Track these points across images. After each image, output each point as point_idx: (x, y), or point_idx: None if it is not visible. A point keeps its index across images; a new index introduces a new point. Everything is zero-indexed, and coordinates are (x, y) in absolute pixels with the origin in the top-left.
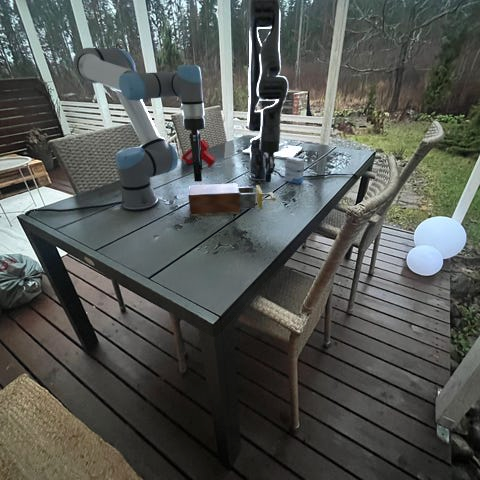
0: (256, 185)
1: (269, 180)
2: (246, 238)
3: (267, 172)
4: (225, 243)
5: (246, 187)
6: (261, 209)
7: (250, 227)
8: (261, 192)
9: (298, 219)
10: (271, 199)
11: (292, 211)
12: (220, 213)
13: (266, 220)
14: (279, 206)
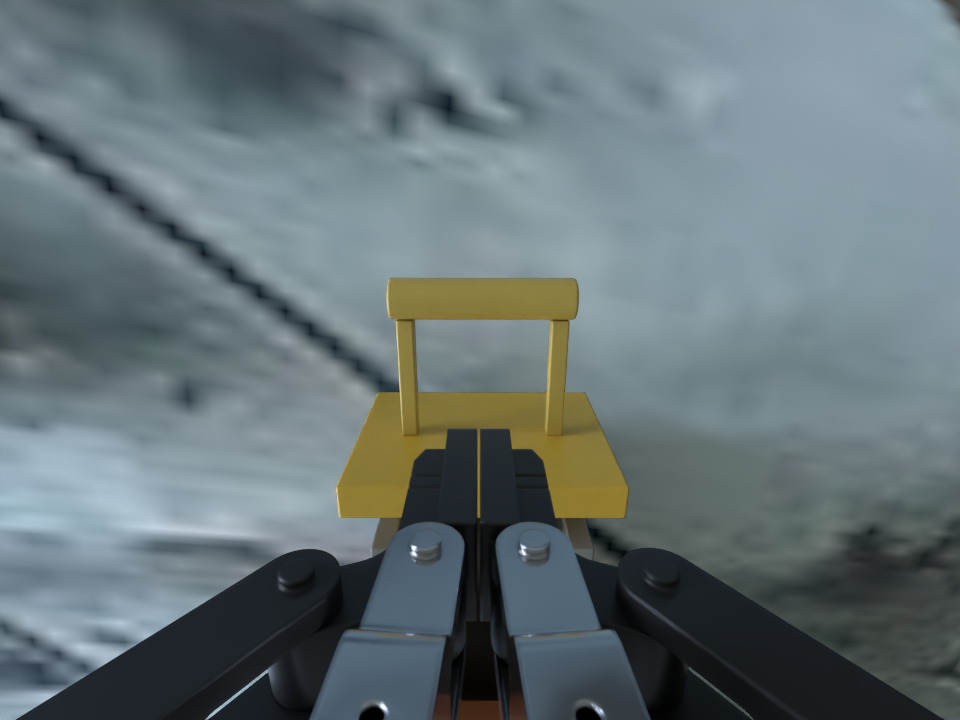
0: (351, 517)
1: (543, 472)
2: (946, 539)
3: (703, 696)
4: (945, 645)
5: None
6: (585, 398)
7: (813, 500)
8: (598, 497)
9: (825, 55)
10: (567, 328)
11: (632, 71)
12: None
13: (745, 372)
14: (490, 191)
